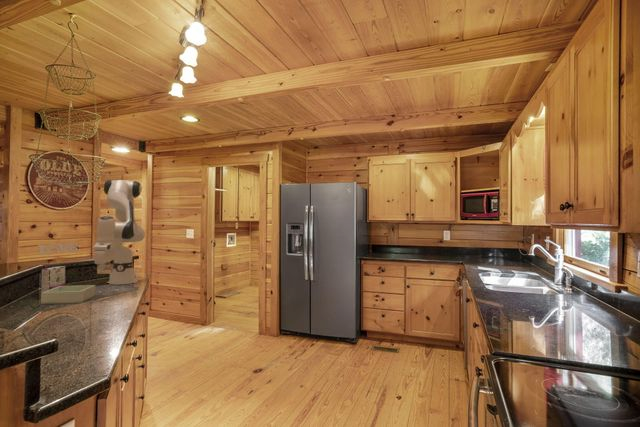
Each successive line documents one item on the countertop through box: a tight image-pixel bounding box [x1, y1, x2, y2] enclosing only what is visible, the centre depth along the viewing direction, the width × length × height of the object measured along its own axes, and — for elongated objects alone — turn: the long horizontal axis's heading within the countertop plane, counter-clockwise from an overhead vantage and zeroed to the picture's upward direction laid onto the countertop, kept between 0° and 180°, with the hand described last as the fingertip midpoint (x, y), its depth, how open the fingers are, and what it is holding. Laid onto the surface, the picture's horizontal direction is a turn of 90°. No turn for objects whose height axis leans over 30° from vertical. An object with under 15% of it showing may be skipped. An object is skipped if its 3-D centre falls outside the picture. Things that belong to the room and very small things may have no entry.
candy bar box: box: [40, 265, 67, 294], centre depth 185 cm, size 11×5×16 cm, turn 179°
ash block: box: [96, 263, 113, 275], centre depth 184 cm, size 4×6×5 cm
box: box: [40, 284, 97, 306], centre depth 178 cm, size 18×18×6 cm
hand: (104, 270), depth 184 cm, fingers closed on ash block, 4 cm apart
